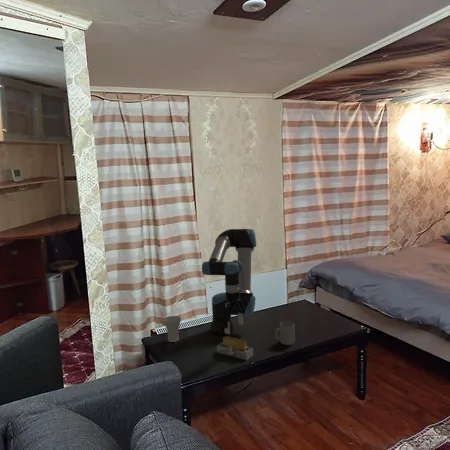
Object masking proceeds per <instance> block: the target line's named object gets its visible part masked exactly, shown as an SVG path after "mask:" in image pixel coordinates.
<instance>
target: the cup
mask: <svg viewBox="0 0 450 450" xmlns="http://www.w3.org/2000/svg"><path fill="white" fill-rule="evenodd" d="M163 322H164V324H165V325H164V326H165V328H166V331H167V337H168V338H167V342H168V341H170V342H175V343H177V342H176V341H178V340H179V341H180V337H179V331H180V330H179V329H180V325H181V322H182V317H181V316H177V315H170V316H169V315H168V316H166V317H164V318H163ZM179 341H178V342H179ZM170 342H169V343H170Z"/></svg>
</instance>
